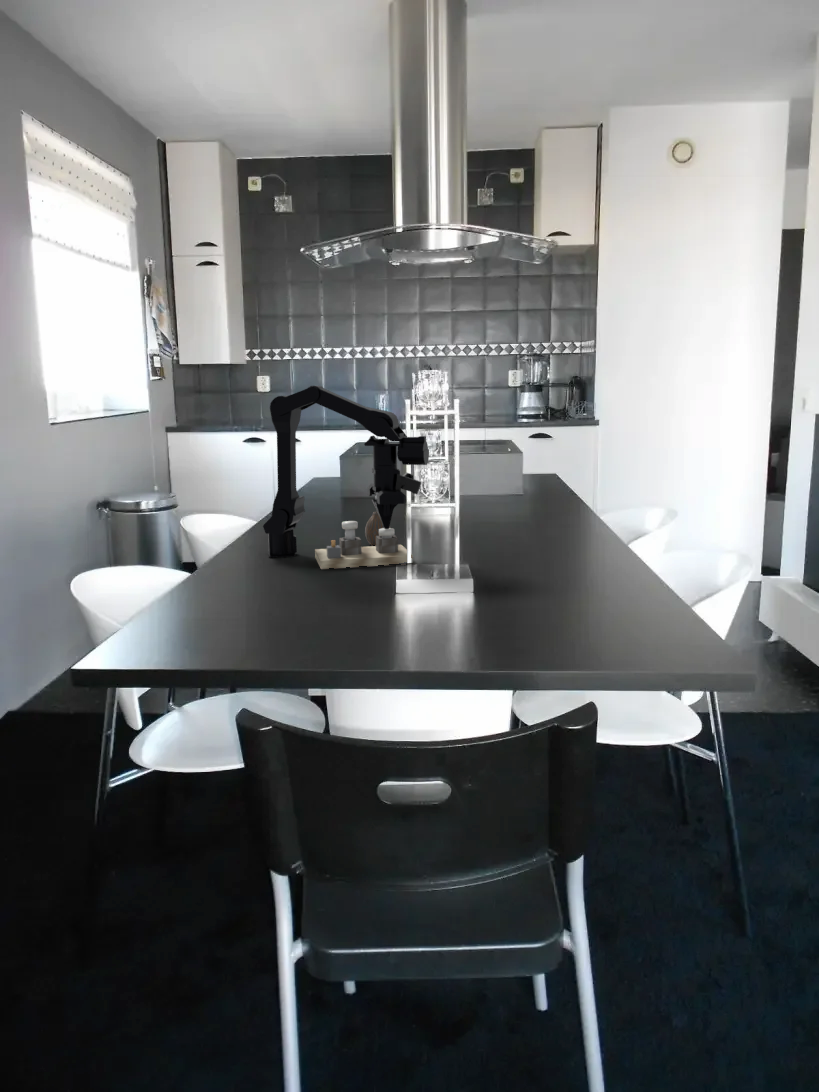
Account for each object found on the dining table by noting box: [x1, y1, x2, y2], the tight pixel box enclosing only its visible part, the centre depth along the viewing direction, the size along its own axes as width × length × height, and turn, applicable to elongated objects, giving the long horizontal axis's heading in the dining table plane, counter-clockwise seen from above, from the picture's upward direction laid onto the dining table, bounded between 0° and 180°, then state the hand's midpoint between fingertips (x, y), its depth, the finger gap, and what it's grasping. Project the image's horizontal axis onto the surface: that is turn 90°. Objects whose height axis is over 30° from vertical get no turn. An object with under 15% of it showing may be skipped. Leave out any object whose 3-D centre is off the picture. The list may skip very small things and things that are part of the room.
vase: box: [364, 511, 391, 546], centre depth 221 cm, size 7×7×9 cm
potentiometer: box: [326, 539, 341, 559], centre depth 196 cm, size 3×3×4 cm
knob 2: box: [379, 527, 395, 538], centre depth 202 cm, size 4×4×5 cm
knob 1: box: [341, 520, 359, 540], centre depth 200 cm, size 4×4×5 cm
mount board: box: [314, 534, 414, 570], centre depth 201 cm, size 22×14×6 cm, turn 102°
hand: (386, 528), depth 202 cm, fingers closed
